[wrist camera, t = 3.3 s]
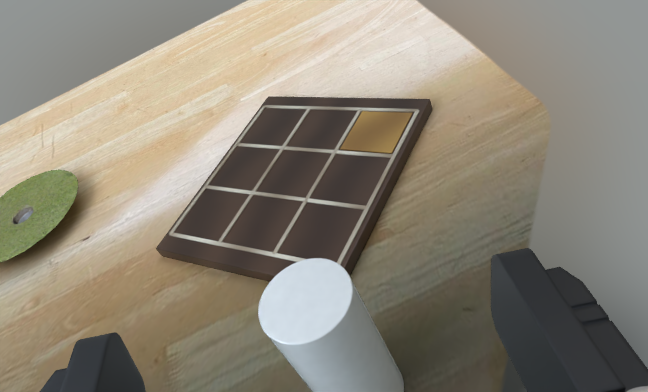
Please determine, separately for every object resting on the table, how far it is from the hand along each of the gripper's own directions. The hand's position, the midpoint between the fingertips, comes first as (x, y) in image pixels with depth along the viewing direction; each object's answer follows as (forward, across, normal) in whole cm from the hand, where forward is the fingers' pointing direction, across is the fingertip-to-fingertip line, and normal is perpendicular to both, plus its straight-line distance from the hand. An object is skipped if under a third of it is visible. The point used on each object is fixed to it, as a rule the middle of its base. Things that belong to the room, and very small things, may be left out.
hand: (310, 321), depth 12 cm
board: (+29, 0, +15) cm, 32 cm away
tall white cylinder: (+11, -1, +17) cm, 20 cm away
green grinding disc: (+37, +25, +19) cm, 49 cm away
